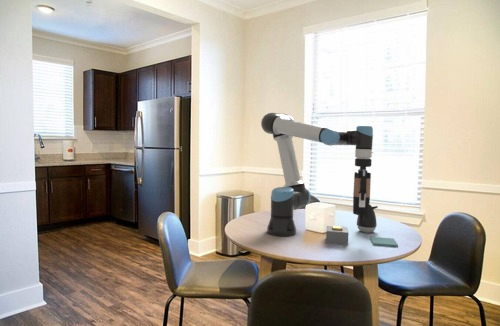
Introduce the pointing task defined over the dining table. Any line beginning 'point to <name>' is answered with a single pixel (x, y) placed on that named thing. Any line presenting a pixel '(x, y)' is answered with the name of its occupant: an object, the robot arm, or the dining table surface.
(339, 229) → the plunger
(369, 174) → the travel mug
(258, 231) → the dining table surface
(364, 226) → the pump dispenser
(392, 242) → the mat
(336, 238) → the block
